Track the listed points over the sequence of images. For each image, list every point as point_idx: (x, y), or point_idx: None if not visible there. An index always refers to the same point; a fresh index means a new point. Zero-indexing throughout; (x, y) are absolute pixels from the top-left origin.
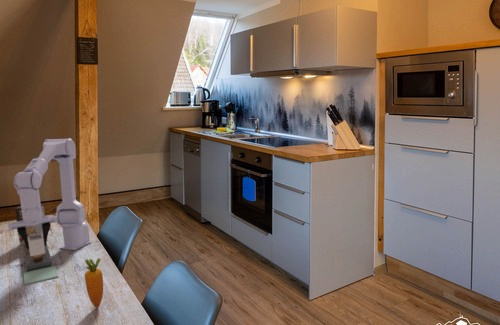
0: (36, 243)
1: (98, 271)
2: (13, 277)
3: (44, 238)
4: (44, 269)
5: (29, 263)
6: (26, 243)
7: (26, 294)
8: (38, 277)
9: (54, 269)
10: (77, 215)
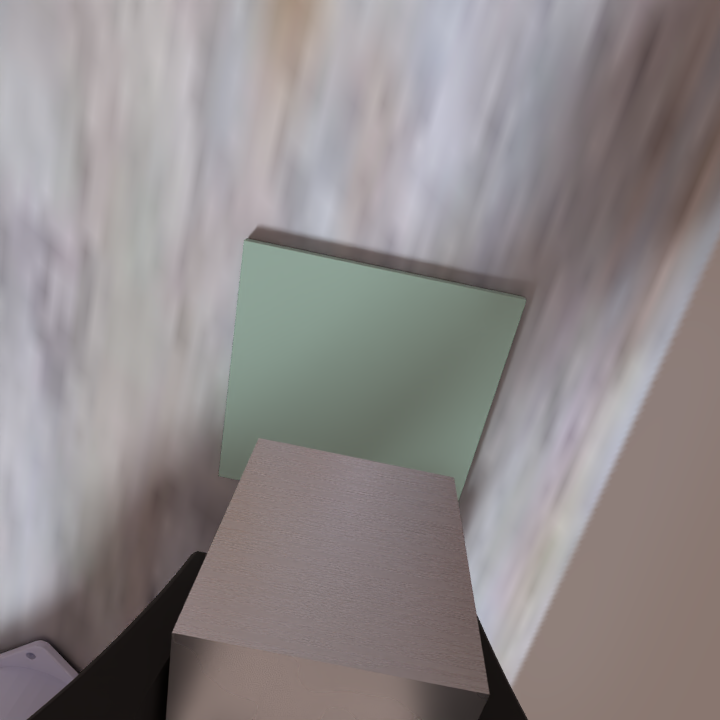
0: (337, 599)
1: None
2: (526, 509)
3: (153, 659)
4: None
5: None
6: (498, 694)
7: (595, 50)
8: (389, 345)
9: (238, 408)
10: None
